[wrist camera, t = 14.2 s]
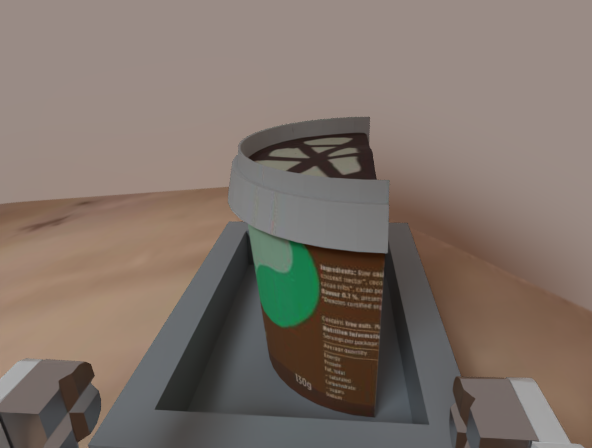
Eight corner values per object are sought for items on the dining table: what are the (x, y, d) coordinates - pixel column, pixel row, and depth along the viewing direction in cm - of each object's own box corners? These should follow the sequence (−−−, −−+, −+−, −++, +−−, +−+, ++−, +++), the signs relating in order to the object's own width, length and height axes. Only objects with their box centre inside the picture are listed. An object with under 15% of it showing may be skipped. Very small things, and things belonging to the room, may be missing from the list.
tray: (110, 520, 15) (87, 445, 13) (233, 266, 31) (228, 221, 30) (478, 550, 14) (494, 471, 12) (404, 269, 30) (407, 222, 29)
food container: (266, 276, 28) (255, 116, 24) (364, 279, 27) (369, 115, 23) (211, 439, 16) (174, 186, 13) (377, 450, 16) (391, 186, 12)
